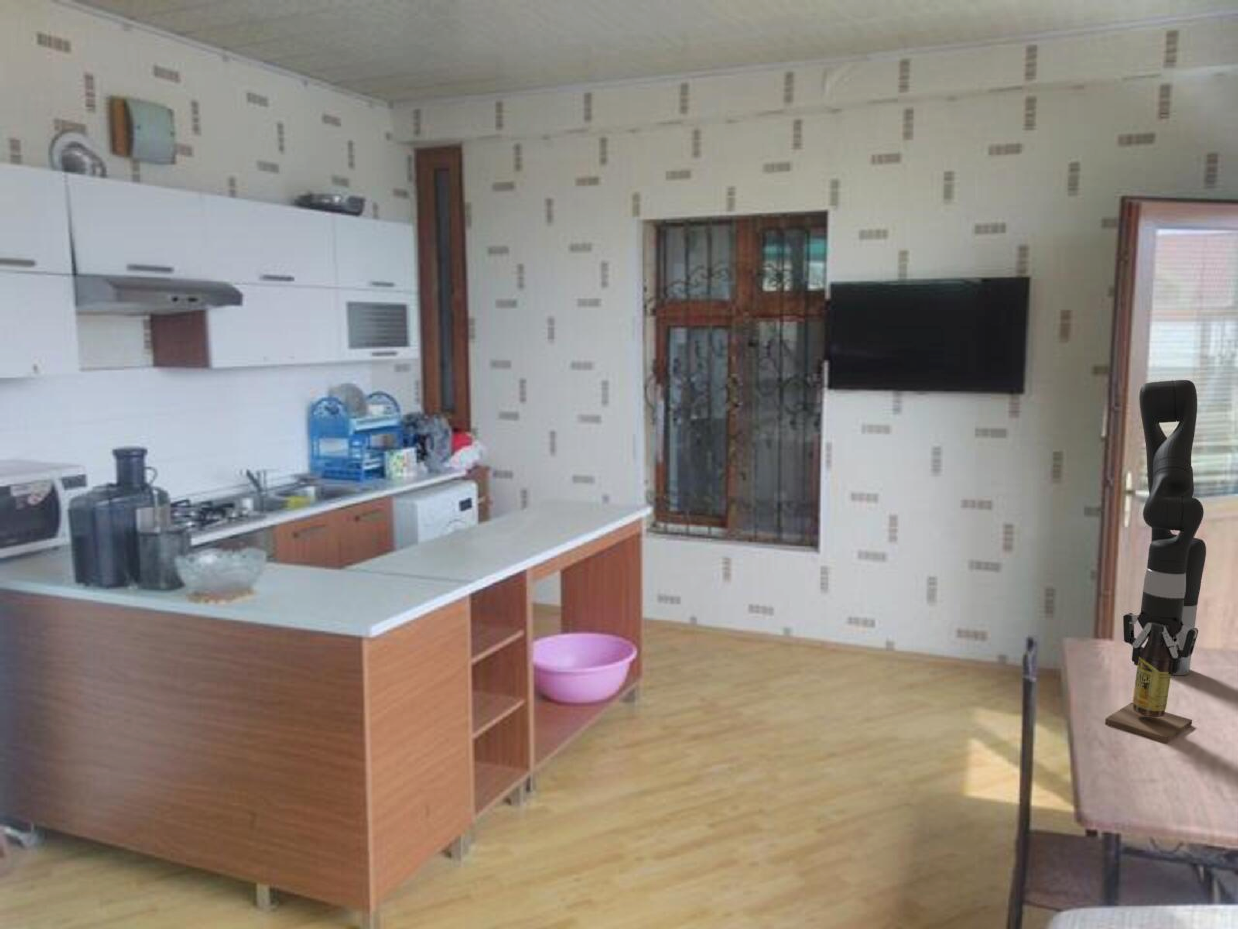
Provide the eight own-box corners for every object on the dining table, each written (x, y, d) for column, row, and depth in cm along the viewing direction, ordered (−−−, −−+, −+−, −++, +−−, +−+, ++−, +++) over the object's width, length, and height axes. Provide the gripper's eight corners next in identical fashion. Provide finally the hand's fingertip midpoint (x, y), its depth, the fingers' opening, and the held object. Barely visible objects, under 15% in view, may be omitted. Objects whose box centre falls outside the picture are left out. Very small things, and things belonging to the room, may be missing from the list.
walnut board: (1131, 707, 214) (1132, 702, 214) (1191, 725, 206) (1192, 720, 205) (1105, 724, 205) (1105, 718, 205) (1166, 743, 196) (1167, 737, 196)
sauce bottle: (1126, 705, 209) (1137, 616, 206) (1157, 707, 208) (1168, 617, 205) (1139, 718, 202) (1150, 625, 199) (1171, 720, 202) (1182, 627, 199)
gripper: (1119, 586, 204) (1111, 663, 206) (1195, 602, 193) (1186, 683, 196) (1134, 580, 209) (1125, 656, 211) (1208, 596, 198) (1199, 675, 201)
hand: (1154, 669), depth 204 cm, fingers closed on sauce bottle, 6 cm apart
